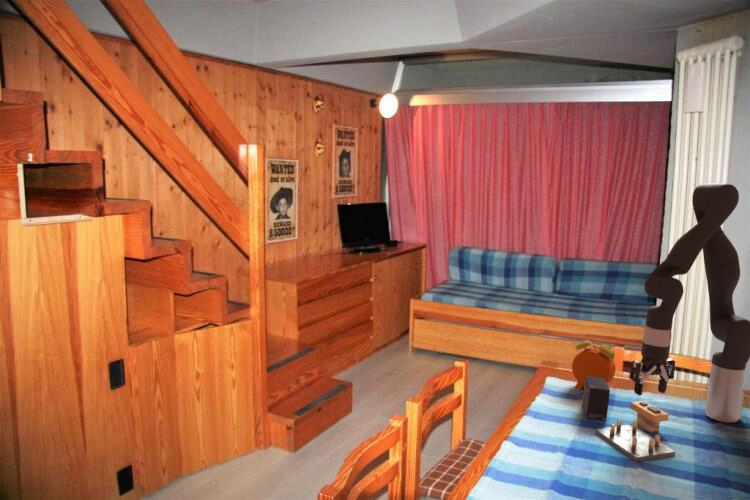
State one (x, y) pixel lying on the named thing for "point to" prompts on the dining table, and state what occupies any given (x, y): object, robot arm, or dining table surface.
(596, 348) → the alarm clock
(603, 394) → the small box
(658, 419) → the board
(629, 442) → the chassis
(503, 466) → the dining table surface
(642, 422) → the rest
